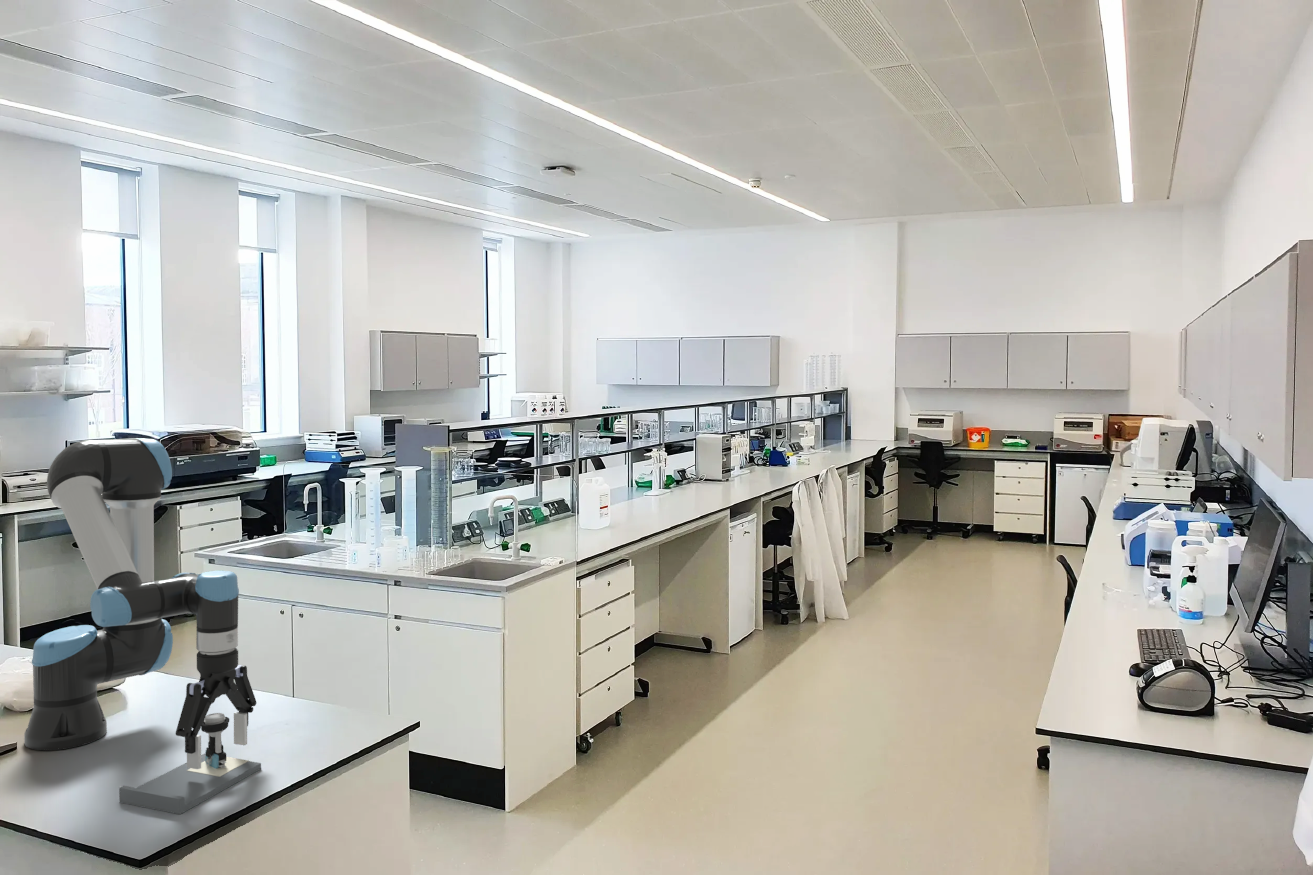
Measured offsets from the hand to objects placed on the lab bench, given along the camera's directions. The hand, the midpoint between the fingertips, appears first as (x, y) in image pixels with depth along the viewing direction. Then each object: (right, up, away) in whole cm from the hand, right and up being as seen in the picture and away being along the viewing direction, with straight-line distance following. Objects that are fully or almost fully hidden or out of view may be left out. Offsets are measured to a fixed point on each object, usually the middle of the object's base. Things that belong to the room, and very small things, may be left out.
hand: (218, 755), depth 186 cm
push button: (0, -2, 0) cm, 2 cm away
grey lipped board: (-2, -4, -6) cm, 7 cm away
